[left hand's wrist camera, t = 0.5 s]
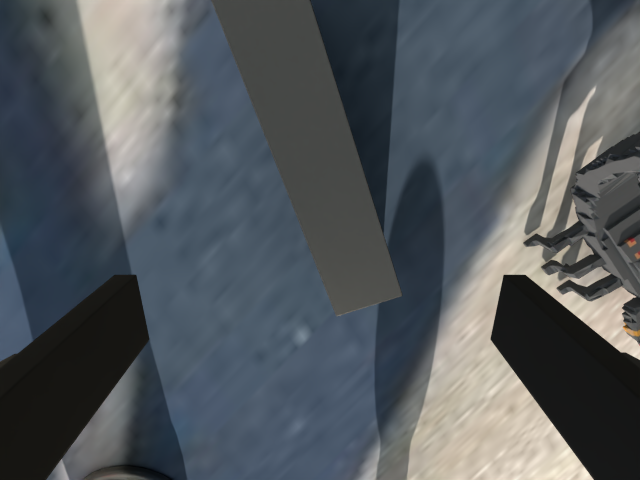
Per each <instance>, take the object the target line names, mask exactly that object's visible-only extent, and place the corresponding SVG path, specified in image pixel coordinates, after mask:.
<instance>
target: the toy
mask: <svg viewBox="0 0 640 480" xmlns="http://www.w3.org/2000/svg"><path fill="white" fill-rule="evenodd" d="M638 172H640V132H639V133H637V134H636V135H632V136H630V137H627V138H626V139H625V140H622V141H620V142H619V143H618V144H616V145H615V146H614V147H611V148H609V149H608V150H607V151H605V152H604V153H603V154H601V155H600V156H598V157H597V158H596V159H594V160H593V161H592V162H590V163H589V164H587V165H586V166H585V167H583V168H582V169H581V170H579V171H578V172H576V175H575V176H576V178H577V180H576V182H575V184H576V185H574V186H573V187H571V188H570V189H571V193H572V197H573V200H574V202H575V205H576V207H575V208H576V214H577V217H578V219H579V221H578V222H577V223H575V224H574V225H573V226H571V227H570V228H569V229H567V230H565V231H563V232H561V233H560V234H558V235H556V236H555V237H553V238H544V237H542V236H540V235H538V234H535V235H533V236H532V237H531V238H529V239H528V240H526V241H525V242H524V245H525V246H526V247H530V246H537V245H541V246H543V247H545V248H546V249H548V250H550V251H552V252H555V253H558V252H559V251H561V250H562V249H563V248H565V247H566V246H568V245H570V246H572V245H573V244H574V243H576V242H577V241H578V240H580V239H581V238H582V237H583V239H584V240H585V242H586V243H587V245H588V246H589V247H590V248H591V249H592V251H593V253H594V255H589V256H587V257H585V258H584V259H582V260H580V261H579V262H577V263H575V264H573V265H571V266H569V265H567V264H565V265H564V266H563V265H562V264H560V263H559V262H557V261H554V260H550V261H549V262H548V263H546V264H545V265H543V266H542V267H541V268H542V269H543V271H544V272H545V273H546V274H548V275H551V274H553V273H556V272H558V271H559V272H563V273H564V274H565V275H567V276H568V277H573V278H578V279H579V278H581V277H582V276H584V275H586V274H587V273H589V272H591V271H592V270H594V269H595V268H597V267H601V266H602V267H603V269H604V270H606V271H607V272H609V273H611V274H610V275H609V276H607V277H605V278H603V279H601V280H599V281H597V282H595V283H593V284H591V285H590V286H588V287H584V286H581V285H577V284H576V283H574V282H572V281H571V280H568V281H566V282H565V283H563V284H562V285H560V286H559V287H557V290H558V291H559V292H560V293H561V294H565V293H567V292H570V291H574V292H575V293H577V294H578V295H580V296H581V297H583V298H584V299H586V300H587V301H593V300H596V299H598V298H600V297H602V296H604V295H606V294H608V293H610V292H612V291H614V290H615V289H617V288H619V287H621V286H622V287H623V288H625V289H626V290H627V291H628V292H630V293H631V294H633V295H635V296H636V298H633V299H632V300H630V301H629V302H627V303H625V304H624V306H623V307H622V309H623V310H624V311H625V312H624V313H622V315H623V317H624V320H623V321H624V323H625V326H623V328H624V329H625V331H626V332H627V334H628V335H629V336H631V337H632V338H634V339H635V340H636V341H637V342H638V344H639V345H640V182H639V181H638V178H639V177H638V175H637V173H638Z"/></svg>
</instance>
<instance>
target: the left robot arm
mask: <svg viewBox="0 0 640 480" xmlns="http://www.w3.org/2000/svg"><path fill="white" fill-rule="evenodd" d="M148 341H149V335H148V330H147V325H146V320H145V315H144V310H143V306H142V301H141V296H140V291H139V286H138V281H137V276H136V275H114V276H113V277H112V278H110V279H109V280H108V281H107V282H105V283H104V284H103V285H102V286H100V287H99V288H98V289H97V290H96V291H94V292H93V293H92V294H91V295H89V296H88V297H87V298H86V299H84V300H83V301H82V302H81V303H80V304H78V305H77V306H76V307H75V308H73V309H72V310H71V311H70V312H68V313H67V314H66V315H65V316H64V317H62V318H61V319H60V320H59V321H57V322H56V323H55V324H54V325H52V326H51V327H50V328H49V329H48V330H46V331H45V332H44V333H43V334H41V335H40V336H39V337H38V338H36V339H35V340H34V341H33V342H32V343H30V344H29V345H28V346H27V347H25V348H24V349H23V350H22V351H20V352H19V353H18V354H14V355H12V356H10V357H8V358H6V359H4V360H2V361H1V362H0V480H46V479H47V478H48V476H49V475H50V474H51V472H52V471H53V470H54V468H55V467H56V465H57V464H58V463H59V461H60V460H61V459H62V457H63V456H64V455H65V453H66V452H67V451H68V449H69V448H70V447H71V445H72V444H73V442H74V441H75V440H76V438H77V437H78V436H79V434H80V433H81V432H82V430H83V429H84V428H85V426H86V425H87V423H88V422H89V421H90V419H91V418H92V417H93V415H94V414H95V413H96V411H97V410H98V409H99V407H100V406H101V404H102V403H103V402H104V400H105V399H106V398H107V396H108V395H109V394H110V392H111V391H112V390H113V388H114V387H115V385H116V384H117V383H118V381H119V380H120V379H121V377H122V376H123V375H124V373H125V372H126V371H127V369H128V368H129V366H130V365H131V364H132V362H133V361H134V360H135V358H136V357H137V356H138V354H139V353H140V352H141V350H142V349H143V347H144V346H145V345H146V343H147V342H148ZM491 341H492V342H493V343H494V345H495V346H496V347H497V349H498V350H499V352H500V353H501V354H502V356H503V357H504V358H505V360H506V361H507V362H508V364H509V365H510V366H511V368H512V369H513V371H514V372H515V373H516V375H517V376H518V377H519V379H520V380H521V381H522V383H523V384H524V385H525V387H526V388H527V390H528V391H529V392H530V394H531V395H532V396H533V398H534V399H535V400H536V402H537V403H538V404H539V406H540V407H541V409H542V410H543V411H544V413H545V414H546V415H547V417H548V418H549V419H550V421H551V422H552V423H553V425H554V426H555V428H556V429H557V430H558V432H559V433H560V434H561V436H562V437H563V438H564V440H565V441H566V442H567V444H568V445H569V447H570V448H571V449H572V451H573V452H574V453H575V455H576V456H577V457H578V459H579V460H580V461H581V463H582V464H583V465H584V467H585V468H586V470H587V471H588V472H589V474H590V475H591V476H592V478H593V479H594V480H640V360H639V359H637V358H635V357H633V356H631V355H629V354H627V353H621V352H620V351H618V350H617V349H616V348H615V347H613V346H612V345H611V344H610V343H608V342H607V341H606V340H605V339H604V338H602V337H601V336H600V335H599V334H597V333H596V332H595V331H594V330H592V329H591V328H590V327H589V326H588V325H586V324H585V323H584V322H583V321H581V320H580V319H579V318H578V317H576V316H575V315H574V314H573V313H572V312H570V311H569V310H568V309H567V308H565V307H564V306H563V305H562V304H560V303H559V302H558V301H557V300H556V299H554V298H553V297H552V296H551V295H549V294H548V293H547V292H546V291H544V290H543V289H542V288H541V287H540V286H538V285H537V284H536V283H535V282H533V281H532V280H531V279H530V278H528V277H527V276H526V275H504V276H503V281H502V286H501V291H500V296H499V301H498V306H497V310H496V315H495V320H494V325H493V330H492V335H491ZM83 480H170V479H169V478H167V477H165V476H163V475H161V474H159V473H157V472H154V471H151V470H148V469H144V468H140V467H132V466H115V467H108V468H104V469H101V470H98V471H95V472H93V473H91V474H90V475H88V476H87V477H86V478H84V479H83Z"/></svg>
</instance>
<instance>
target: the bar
mask: <svg viewBox="0 0 640 480" xmlns="http://www.w3.org/2000/svg"><path fill="white" fill-rule="evenodd" d="M211 1H212V3H213V6H214V8H215V11H216V13H217V16H218V18H219V21H220V23H221V26H222V29H223V31H224V34H225V36H226V39H227V41H228V44H229V46H230V49H231V51H232V54H233V56H234V59H235V61H236V64H237V66H238V69H239V71H240V74H241V77H242V79H243V82H244V84H245V87H246V89H247V92H248V94H249V97H250V99H251V102H252V104H253V107H254V109H255V112H256V114H257V117H258V119H259V122H260V125H261V127H262V130H263V132H264V135H265V137H266V140H267V142H268V145H269V147H270V150H271V152H272V155H273V157H274V160H275V162H276V165H277V167H278V170H279V173H280V175H281V178H282V180H283V183H284V185H285V188H286V190H287V193H288V195H289V198H290V200H291V203H292V205H293V208H294V210H295V213H296V215H297V218H298V221H299V223H300V226H301V228H302V231H303V233H304V236H305V238H306V241H307V243H308V246H309V248H310V251H311V253H312V256H313V258H314V261H315V263H316V266H317V269H318V271H319V274H320V276H321V279H322V281H323V284H324V286H325V289H326V291H327V294H328V296H329V299H330V301H331V304H332V306H333V309H334V311H335V314H336V316H339V315H342V314H346V313H349V312H352V311H355V310H358V309H362V308H365V307H368V306H371V305H374V304H378V303H381V302H384V301H387V300H391V299H394V298H397V297H400V296H402V292H401V289H400V286H399V282H398V279H397V276H396V273H395V270H394V266H393V263H392V260H391V257H390V254H389V250H388V247H387V244H386V241H385V238H384V234H383V231H382V228H381V225H380V222H379V218H378V215H377V212H376V209H375V206H374V202H373V199H372V196H371V193H370V190H369V186H368V183H367V180H366V177H365V174H364V170H363V167H362V164H361V161H360V158H359V154H358V151H357V148H356V145H355V142H354V138H353V135H352V132H351V129H350V126H349V122H348V119H347V116H346V113H345V110H344V106H343V103H342V100H341V97H340V94H339V90H338V87H337V84H336V81H335V78H334V74H333V71H332V68H331V65H330V62H329V58H328V55H327V52H326V49H325V46H324V42H323V39H322V36H321V33H320V30H319V26H318V23H317V20H316V17H315V14H314V10H313V7H312V4H311V1H310V0H211Z"/></svg>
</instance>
